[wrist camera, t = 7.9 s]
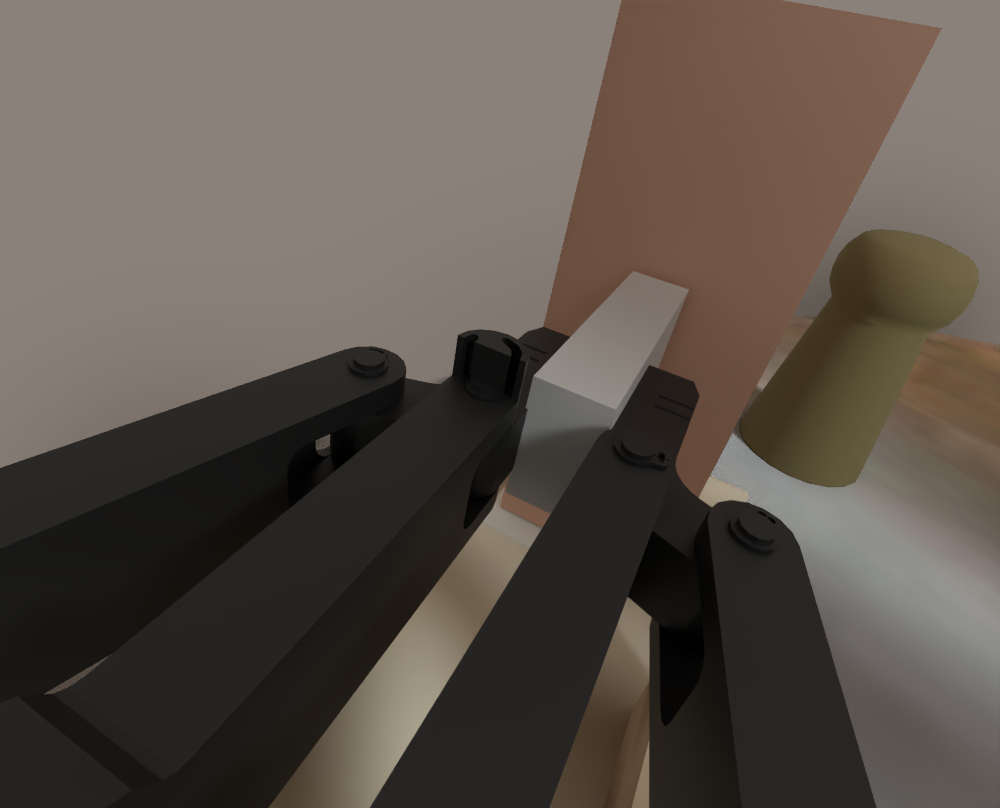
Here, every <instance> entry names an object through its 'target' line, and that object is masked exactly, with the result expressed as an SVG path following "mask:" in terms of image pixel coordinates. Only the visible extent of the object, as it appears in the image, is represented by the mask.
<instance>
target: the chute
mask: <svg viewBox="0 0 1000 808" xmlns="http://www.w3.org/2000/svg"><path fill="white" fill-rule="evenodd" d="M506 480H507V477H506V479H505V480H504V481H503V483H502V484H501V485H500V486H499V490H498V494H497V499H496V502H495V504H494V507H493V509H492V510H491V512H490V513H489V514H488V516H487V517H486V518H485V520H484V521H483V522H482V524H481V525H480V526H479V528H478V529H477V530H476V532H475V533H474V534H473V536H472V537H471V538H470V540H469V541H468V542H467V544H466V545H465V546H464V548H463V549H462V550H461V552H460V553H459V554H458V556H457V557H456V558H455V560H454V561H453V562H452V564H451V565H450V566H449V568H448V569H447V570H446V572H445V573H444V574H443V576H442V577H441V578H440V580H439V581H438V582H437V584H436V585H435V586H434V588H433V589H432V590H431V592H430V593H429V594H428V596H427V597H426V598H425V600H424V601H423V602H422V604H421V605H420V606H419V608H418V609H417V610H416V612H415V613H414V614H413V616H412V617H411V618H410V620H409V621H408V622H407V624H406V625H405V626H404V628H403V629H402V630H401V632H400V633H399V634H398V636H397V637H396V638H395V640H394V641H393V642H392V644H391V645H390V646H389V648H388V649H387V650H386V652H385V653H384V654H383V656H382V657H381V658H380V660H379V661H378V662H377V664H376V665H375V666H374V668H373V669H372V670H371V672H370V673H369V674H368V676H367V677H366V678H365V680H364V681H363V682H362V684H361V685H360V686H359V688H358V689H357V690H356V692H355V693H354V694H353V696H352V697H351V698H350V700H349V701H348V702H347V704H346V705H345V706H344V708H343V709H342V710H341V712H340V713H339V714H338V716H337V717H336V718H335V720H334V721H333V722H332V724H331V725H330V726H329V728H328V729H327V730H326V732H325V733H324V734H323V736H322V737H321V738H320V740H319V741H318V742H317V744H316V745H315V746H314V748H313V749H312V750H311V752H310V753H309V754H308V756H307V757H306V758H305V760H304V761H303V762H302V764H301V765H300V766H299V768H298V769H297V770H296V772H295V773H294V774H293V776H292V777H291V778H290V780H289V781H288V782H287V784H286V785H285V786H284V788H283V789H282V790H281V792H280V793H279V794H278V796H277V797H276V798H275V800H274V801H273V802H272V804H271V805H270V806H269V808H370V806H371V805H372V803H373V801H374V800H375V798H376V797H377V795H378V793H379V792H380V790H381V788H382V787H383V785H384V784H385V782H386V780H387V779H388V777H389V775H390V774H391V772H392V771H393V769H394V767H395V766H396V764H397V763H398V761H399V759H400V758H401V756H402V754H403V753H404V751H405V750H406V748H407V746H408V745H409V743H410V741H411V740H412V738H413V737H414V735H415V733H416V732H417V730H418V728H419V727H420V725H421V724H422V722H423V720H424V719H425V717H426V715H427V714H428V712H429V711H430V709H431V707H432V706H433V704H434V703H435V701H436V699H437V698H438V696H439V694H440V693H441V691H442V690H443V688H444V686H445V685H446V683H447V681H448V680H449V678H450V677H451V675H452V673H453V672H454V670H455V668H456V667H457V665H458V664H459V662H460V660H461V659H462V657H463V655H464V654H465V652H466V651H467V649H468V647H469V646H470V644H471V643H472V641H473V639H474V638H475V636H476V634H477V633H478V631H479V630H480V628H481V626H482V625H483V623H484V621H485V620H486V618H487V617H488V615H489V613H490V612H491V610H492V608H493V607H494V605H495V604H496V602H497V600H498V599H499V597H500V595H501V594H502V592H503V591H504V589H505V587H506V586H507V584H508V583H509V581H510V579H511V578H512V576H513V574H514V573H515V571H516V570H517V568H518V566H519V565H520V563H521V561H522V560H523V558H524V557H525V555H526V553H527V552H528V550H529V548H530V547H531V545H532V544H533V542H534V540H535V539H536V537H537V535H538V534H539V532H540V531H541V529H542V527H540V526H538V525H536V524H534V523H532V522H530V521H528V520H526V519H524V518H522V517H520V516H518V515H516V514H514V513H512V512H510V511H508V510H506V509H504V508H502V507H500V505H501V501H502V497H503V493H504V489H505V484H506ZM748 493H749V492H746V491H744V490H742V489H739V488H737V487H735V486H732V485H730V484H728V483H725V482H723V481H720V480H718V479H716V478H713V477H711V476H710V477H709V478H708V480H707V482H706V484H705V486H704V488H703V490H702V492H701V494H700V496H699V499H701V500H702V501H704V502H705V503H706V504H708V505H709V506H711V507H713V506H714V505H715V504H716V503H718V502H722V501H728V500H735V501H742V502H747V498H748ZM651 618H652V617H651V616H649V615H648V614H647V613H646V612H645V611H644V610H642V609H641V608H640V607H639V606H638V605H637V604H636V603H634V602H633V601H632V600H631V599H630V598H629V597H627V600H626V603H625V605H624V608H623V611H622V613H621V616H620V619H619V622H618V624H617V627H616V630H615V632H614V635H613V638H612V640H611V643H610V646H609V648H608V651H607V654H606V657H605V659H604V662H603V665H602V667H601V670H600V673H599V675H598V678H597V681H596V684H595V686H594V689H593V692H592V694H591V697H590V700H589V702H588V705H587V708H586V711H585V713H584V716H583V719H582V721H581V724H580V727H579V729H578V732H577V735H576V737H575V740H574V743H573V746H572V748H571V751H570V754H569V756H568V759H567V762H566V764H565V767H564V770H563V773H562V775H561V778H560V781H559V783H558V786H557V789H556V791H555V794H554V797H553V799H552V802H551V805H550V808H649V627H650V622H651Z"/></svg>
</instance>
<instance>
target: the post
mask: <svg viewBox="0 0 1000 808" xmlns="http://www.w3.org/2000/svg"><path fill="white" fill-rule="evenodd" d="M941 29H942V28H937V27H931V26H926V25H920V24H914V23H909V22H903V21H897V20H892V19H886V18H880V17H874V16H869V15H863V14H857V13H851V12H846V11H840V10H834V9H829V8H823V7H818V6H812V5H806V4H800V3H795V2H789V1H783V0H622V1H621V5H620V9H619V13H618V17H617V22H616V26H615V31H614V34H613V38H612V43H611V47H610V51H609V55H608V60H607V63H606V68H605V72H604V76H603V80H602V85H601V89H600V93H599V97H598V101H597V105H596V109H595V113H594V118H593V122H592V126H591V130H590V134H589V138H588V143H587V147H586V151H585V155H584V159H583V163H582V168H581V172H580V176H579V181H578V184H577V189H576V193H575V197H574V201H573V205H572V210H571V214H570V218H569V222H568V226H567V231H566V234H565V239H564V243H563V247H562V251H561V255H560V260H559V263H558V268H557V272H556V276H555V280H554V284H553V289H552V293H551V297H550V301H549V305H548V309H547V314H546V318H545V322H544V326H543V327H546V328H548V329H551V330H554V331H556V332H559V333H562V334H564V335H567V336H570V337H571V336H572V335H573V334H574V333H575V332H576V331H577V330H578V329H579V328H580V327H581V325H582V324H583V323H584V322H585V321H586V320H587V319H588V318H589V317H590V316H591V315H592V314H593V313H594V312H595V311H596V310H597V309H598V308H599V307H600V306H601V304H602V303H603V302H604V301H605V300H606V299H607V298H608V297H609V296H610V295H611V294H612V293H613V292H614V291H615V290H616V289H617V288H618V287H619V286H620V285H621V283H622V282H623V281H624V280H625V279H626V278H627V277H628V276H629V275H630V274H631V273H632V272H633V271H635V272H638V273H641V274H644V275H647V276H650V277H653V278H656V279H659V280H662V281H665V282H668V283H671V284H674V285H677V286H680V287H683V288H686V289H689V291H688V294H687V296H686V299H685V301H684V304H683V306H682V309H681V311H680V314H679V317H678V319H677V322H676V324H675V327H674V329H673V332H672V334H671V337H670V340H669V342H668V345H667V347H666V350H665V352H664V355H663V358H662V360H661V363H660V365H659V369H661V370H664V371H667V372H669V373H672V374H675V375H677V376H680V377H683V378H685V379H688V380H691V381H693V382H694V383H695V386H696V388H697V391H698V393H699V396H700V397H699V399H698V402H697V405H696V408H695V410H694V413H693V416H692V418H691V421H690V424H689V426H688V429H687V432H686V434H685V437H684V440H683V442H682V445H681V448H680V451H679V453H678V456H677V459H676V470H677V474H678V476H679V477H680V479H681V481H682V482H683V484H684V485H685V486H686V487H687V488H688V489H689V490H690V491H691V492H692V493H693V494H694V495H696V496H697V497H698V498H699V496H700V494H701V492H702V490H703V488H704V486H705V484H706V482H707V480H708V478H709V477H710V475H711V473H712V471H713V469H714V467H715V465H716V463H717V461H718V459H719V457H720V455H721V453H722V451H723V450H724V448H725V446H726V444H727V442H728V440H729V438H730V436H731V434H732V432H733V430H734V428H735V426H736V424H737V423H738V421H739V419H740V417H741V415H742V413H743V411H744V409H745V407H746V405H747V403H748V401H749V399H750V397H751V396H752V394H753V392H754V390H755V388H756V386H757V384H758V382H759V380H760V378H761V376H762V374H763V372H764V370H765V369H766V367H767V365H768V363H769V361H770V359H771V357H772V355H773V353H774V351H775V349H776V347H777V345H778V343H779V342H780V340H781V338H782V336H783V334H784V332H785V330H786V328H787V326H788V324H789V322H790V320H791V318H792V316H793V315H794V312H795V311H796V309H797V307H798V305H799V303H800V301H801V299H802V297H803V295H804V293H805V291H806V289H807V287H808V286H809V284H810V282H811V280H812V278H813V276H814V274H815V272H816V270H817V268H818V266H819V264H820V262H821V261H822V259H823V256H824V255H825V253H826V251H827V249H828V247H829V245H830V243H831V241H832V239H833V237H834V235H835V233H836V231H837V230H838V228H839V226H840V224H841V222H842V220H843V218H844V216H845V214H846V212H847V210H848V208H849V206H850V205H851V203H852V201H853V199H854V196H855V195H856V193H857V191H858V189H859V187H860V185H861V183H862V181H863V179H864V178H865V176H866V174H867V172H868V170H869V167H870V166H871V164H872V162H873V160H874V158H875V156H876V154H877V152H878V151H879V148H880V147H881V145H882V143H883V141H884V139H885V136H886V135H887V133H888V131H889V129H890V127H891V125H892V123H893V122H894V120H895V118H896V116H897V114H898V112H899V110H900V108H901V106H902V104H903V102H904V100H905V98H906V97H907V94H908V93H909V91H910V89H911V87H912V85H913V83H914V81H915V79H916V77H917V75H918V73H919V71H920V70H921V68H922V65H923V63H924V62H925V60H926V58H927V56H928V54H929V52H930V50H931V48H932V46H933V44H934V43H935V40H936V39H937V37H938V35H939V33H940V31H941ZM509 475H510V474H509ZM509 475H508V476H507V480H506V484H505V489H504V493H503V497H502V501H501V505H500V507H502V508H504V509H506V510H508V511H510V512H512V513H514V514H516V515H518V516H520V517H522V518H524V519H526V520H528V521H530V522H532V523H534V524H536V525H538V526H540V527H543V526H544V524H545V523H546V521H547V519H548V518H549V516H550V513H548V512H546V511H543V510H541V509H539V508H537V507H535V506H533V505H531V504H529V503H527V502H525V501H523V500H521V499H519V498H516V497H514V496H512V495H510V494H508V493H506V492H505V491H506V487H507V483H508V479H509Z"/></svg>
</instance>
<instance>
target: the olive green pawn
mask: <svg viewBox="0 0 1000 808" xmlns="http://www.w3.org/2000/svg"><path fill="white" fill-rule="evenodd" d="M978 275H979V274H978V268H977V266H976V265H975V264H974V262H973V261H972V260H971V259H970V258H969V257H968V256H966V255H964V254H963V253H961V252H959V251H958V250H956V249H954V248H952V247H951V246H949V245H946V244H944V243H942V242H940V241H937V240H935V239H932V238H929V237H926V236H922V235H918V234H914V233H909V232H903V231H895V230H883V229H881V230H871V231H866V232H864V233H862V234H860V235H859V236H857V237H856V238H855V239H853V240H852V241H850V242H849V243H848V244H847V245H846V246H845V247H844V249H843V250H842V251H841V252H840V253H839V255H838V257H837V259H836V261H835V263H834V264H833V267H832V271H831V275H830V280H829V281H830V287H831V293H832V297H831V298H830V299H829V301H828V302H827V304H826V305H825V306H824V307H823V309H822V310H821V312H820V313H819V314H818V316H817V317H816V318H815V320H814V321H813V322H812V324H811V325H810V327H809V328H808V329H807V331H806V332H805V333H804V335H803V336H802V337H801V339H800V340H799V342H798V343H797V344H796V346H795V347H794V348H793V350H792V351H791V352H790V354H789V355H788V357H787V358H786V359H785V361H784V362H783V363H782V365H781V366H780V367H779V369H778V370H777V372H776V373H775V374H774V376H773V377H772V378H771V380H770V381H769V382H768V384H767V385H766V387H765V388H764V389H763V391H762V392H761V393H760V395H759V396H758V397H757V399H756V400H755V402H754V403H753V404H752V406H751V407H750V408H749V410H748V411H747V412H746V414H745V415H744V417H743V418H742V419H741V422H740V432H741V434H742V437H743V439H744V441H745V442H746V443H747V444H748V446H749V447H750V448H751V449H752V450H753V452H754V453H756V454H757V455H758V456H759V457H761V458H762V459H763V460H764V461H766V462H767V463H768V464H769V465H771V466H773V467H775V468H777V469H778V470H780V471H782V472H784V473H785V474H787V475H789V476H792V477H794V478H797V479H800V480H802V481H805V482H807V483H811V484H816V485H821V486H826V487H845V486H847V485H849V484H852V483H854V482H855V481H856V480H857V478H858V476H859V475H860V473H861V471H862V469H863V467H864V464H865V462H866V460H867V458H868V456H869V454H870V452H871V450H872V448H873V446H874V444H875V442H876V440H877V438H878V436H879V434H880V432H881V430H882V428H883V426H884V424H885V422H886V420H887V418H888V416H889V414H890V412H891V410H892V408H893V406H894V404H895V402H896V400H897V398H898V396H899V394H900V392H901V390H902V388H903V386H904V384H905V382H906V380H907V378H908V376H909V374H910V372H911V370H912V368H913V365H914V363H915V361H916V359H917V357H918V355H919V353H920V351H921V349H922V347H923V345H924V343H925V341H926V339H927V337H928V335H929V334H930V333H932V332H934V331H936V330H939V329H941V328H943V327H946V326H948V325H949V324H950V323H952V322H953V321H954V320H955V319H956V318H957V317H959V316H960V315H961V314H962V312H963V311H964V310H965V309H966V307H967V306H968V305H969V303H970V302H971V300H972V298H973V296H974V294H975V291H976V288H977V286H978V283H979V276H978Z"/></svg>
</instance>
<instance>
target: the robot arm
mask: <svg viewBox="0 0 1000 808" xmlns="http://www.w3.org/2000/svg"><path fill="white" fill-rule="evenodd" d="M688 291H689V289H686V288H683V287H680V286H677V285H674V284H671V283H668V282H665V281H662V280H659V279H656V278H653V277H650V276H647V275H644V274H641V273H638V272H635V271H633V272H632V273H631V274H630V275H629V276H628V277H627V278H626V279H625V280H624V281H623V282H622V283H621V285H620V286H619V287H618V288H617V289H616V290H615V291H614V292H613V293H612V294H611V295H610V296H609V297H608V298H607V299H606V300H605V301H604V302H603V303H602V304H601V306H600V307H599V308H598V309H597V310H596V311H595V312H594V313H593V314H592V315H591V316H590V317H589V318H588V319H587V320H586V321H585V322H584V323H583V324H582V325H581V327H580V328H579V329H578V330H577V331H576V332H575V333H574V334H573V335H572V336H571V337H570V336H567V335H564V334H562V333H559V332H556V331H554V330H551V329H548V328H546V327H542V328H539V329H535V330H531V331H528V332H526V333H525V334H524V335H523V336H522V337H520V338H519V339H518V340H517V339H515V338H514V337H512V336H510V335H507V334H504V333H500V332H497V331H491V330H473V331H467V332H464V333H462V334H460V335H458V339H457V346H456V354H455V360H454V367H453V374H452V376H451V377H449V378H448V379H447V380H446V381H444V382H443V383H442V384H441V385H440V384H432V383H427V382H422V381H417V380H412V379H407V378H405V375H406V367H405V364H404V361H403V360H402V359H401V358H400V357H399V356H398V355H396V354H394V353H392V352H390V351H388V350H385V349H381V348H377V347H372V346H371V347H355V348H350V349H345V350H343V351H339V352H336V353H334V354H331V355H328V356H325V357H322V358H319V359H316V360H313V361H311V362H307V363H304V364H302V365H299V366H296V367H293V368H290V369H287V370H284V371H281V372H278V373H275V374H272V375H270V376H267V377H264V378H261V379H258V380H255V381H252V382H249V383H246V384H244V385H240V386H238V387H235V388H232V389H229V390H226V391H223V392H220V393H217V394H214V395H211V396H209V397H206V398H203V399H200V400H197V401H194V402H191V403H188V404H185V405H182V406H179V407H177V408H174V409H171V410H168V411H165V412H162V413H159V414H156V415H153V416H151V417H147V418H145V419H142V420H139V421H136V422H133V423H130V424H127V425H124V426H121V427H119V428H115V429H113V430H110V431H107V432H104V433H101V434H98V435H95V436H92V437H89V438H86V439H83V440H81V441H78V442H75V443H72V444H69V445H66V446H63V447H60V448H57V449H54V450H51V451H49V452H46V453H43V454H40V455H37V456H34V457H31V458H28V459H25V460H23V461H19V462H17V463H14V464H11V465H8V466H5V467H2V468H0V808H269V806H270V805H271V804H272V802H273V801H274V800H275V798H276V797H277V796H278V794H279V793H280V792H281V790H282V789H283V788H284V786H285V785H286V784H287V782H288V781H289V780H290V778H291V777H292V776H293V774H294V773H295V772H296V770H297V769H298V768H299V766H300V765H301V764H302V762H303V761H304V760H305V758H306V757H307V756H308V754H309V753H310V752H311V750H312V749H313V748H314V746H315V745H316V744H317V742H318V741H319V740H320V738H321V737H322V736H323V734H324V733H325V732H326V730H327V729H328V728H329V726H330V725H331V724H332V722H333V721H334V720H335V718H336V717H337V716H338V714H339V713H340V712H341V710H342V709H343V708H344V706H345V705H346V704H347V702H348V701H349V700H350V698H351V697H352V696H353V694H354V693H355V692H356V690H357V689H358V688H359V686H360V685H361V684H362V682H363V681H364V680H365V678H366V677H367V676H368V674H369V673H370V672H371V670H372V669H373V668H374V666H375V665H376V664H377V662H378V661H379V660H380V658H381V657H382V656H383V654H384V653H385V652H386V650H387V649H388V648H389V646H390V645H391V644H392V642H393V641H394V640H395V638H396V637H397V636H398V634H399V633H400V632H401V630H402V629H403V628H404V626H405V625H406V624H407V622H408V621H409V620H410V618H411V617H412V616H413V614H414V613H415V612H416V610H417V609H418V608H419V606H420V605H421V604H422V602H423V601H424V600H425V598H426V597H427V596H428V594H429V593H430V592H431V590H432V589H433V588H434V586H435V585H436V584H437V582H438V581H439V580H440V578H441V577H442V576H443V574H444V573H445V572H446V570H447V569H448V568H449V566H450V565H451V564H452V562H453V561H454V560H455V558H456V557H457V556H458V554H459V553H460V552H461V550H462V549H463V548H464V546H465V545H466V544H467V542H468V541H469V540H470V538H471V537H472V536H473V534H474V533H475V532H476V530H477V529H478V528H479V526H480V525H481V524H482V522H483V521H484V520H485V518H486V517H487V516H488V514H489V513H490V512H491V510H492V509H493V507H494V504H495V502H496V499H497V494H498V490H499V486H500V485H501V484H502V483H503V481H504V480H505V479H506V477H507V476H508V475H509V474H510V475H509V479H508V483H507V487H506V491H505V492H506V493H508V494H510V495H512V496H514V497H516V498H519V499H521V500H523V501H525V502H527V503H529V504H531V505H533V506H535V507H537V508H539V509H541V510H543V511H546V512H548V513H550V516H549V518H548V519H547V521H546V523H545V524H544V526H543V527H542V529H541V531H540V532H539V534H538V535H537V537H536V539H535V540H534V542H533V544H532V545H531V547H530V548H529V550H528V552H527V553H526V555H525V557H524V558H523V560H522V561H521V563H520V565H519V566H518V568H517V570H516V571H515V573H514V574H513V576H512V578H511V579H510V581H509V583H508V584H507V586H506V587H505V589H504V591H503V592H502V594H501V595H500V597H499V599H498V600H497V602H496V604H495V605H494V607H493V608H492V610H491V612H490V613H489V615H488V617H487V618H486V620H485V621H484V623H483V625H482V626H481V628H480V630H479V631H478V633H477V634H476V636H475V638H474V639H473V641H472V643H471V644H470V646H469V647H468V649H467V651H466V652H465V654H464V655H463V657H462V659H461V660H460V662H459V664H458V665H457V667H456V668H455V670H454V672H453V673H452V675H451V677H450V678H449V680H448V681H447V683H446V685H445V686H444V688H443V690H442V691H441V693H440V694H439V696H438V698H437V699H436V701H435V703H434V704H433V706H432V707H431V709H430V711H429V712H428V714H427V715H426V717H425V719H424V720H423V722H422V724H421V725H420V727H419V728H418V730H417V732H416V733H415V735H414V737H413V738H412V740H411V741H410V743H409V745H408V746H407V748H406V750H405V751H404V753H403V754H402V756H401V758H400V759H399V761H398V763H397V764H396V766H395V767H394V769H393V771H392V772H391V774H390V775H389V777H388V779H387V780H386V782H385V784H384V785H383V787H382V788H381V790H380V792H379V793H378V795H377V797H376V798H375V800H374V801H373V803H372V805H371V806H370V808H550V805H551V802H552V799H553V797H554V794H555V791H556V789H557V786H558V783H559V781H560V778H561V775H562V773H563V770H564V767H565V764H566V762H567V759H568V756H569V754H570V751H571V748H572V746H573V743H574V740H575V737H576V735H577V732H578V729H579V727H580V724H581V721H582V719H583V716H584V713H585V711H586V708H587V705H588V702H589V700H590V697H591V694H592V692H593V689H594V686H595V684H596V681H597V678H598V675H599V673H600V670H601V667H602V665H603V662H604V659H605V657H606V654H607V651H608V648H609V646H610V643H611V640H612V638H613V635H614V632H615V630H616V627H617V624H618V622H619V619H620V616H621V613H622V611H623V608H624V605H625V603H626V600H627V597H629V598H630V599H631V600H632V601H633V602H634V603H636V604H637V605H638V606H639V607H640V608H641V609H642V610H644V611H645V612H646V613H647V614H648V615H649V616H651V617H652V618H651V622H650V627H649V808H876V805H875V802H874V798H873V795H872V791H871V788H870V785H869V781H868V778H867V774H866V771H865V768H864V764H863V761H862V757H861V754H860V751H859V747H858V744H857V740H856V737H855V733H854V730H853V727H852V723H851V720H850V716H849V713H848V710H847V706H846V703H845V699H844V696H843V693H842V689H841V686H840V682H839V679H838V676H837V672H836V669H835V665H834V662H833V659H832V655H831V652H830V648H829V645H828V642H827V638H826V635H825V631H824V628H823V625H822V621H821V618H820V614H819V611H818V608H817V604H816V601H815V597H814V594H813V590H812V587H811V584H810V580H809V577H808V573H807V570H806V567H805V563H804V560H803V556H802V553H801V550H800V546H799V544H798V542H797V541H796V539H795V537H794V535H793V533H792V532H791V531H790V530H789V529H788V528H787V527H786V526H785V525H784V523H783V522H782V521H781V520H780V519H778V518H777V517H775V516H774V515H772V514H771V513H769V512H767V511H766V510H764V509H762V508H760V507H757V506H755V505H752V504H750V503H747V502H742V501H735V500H728V501H722V502H718V503H716V504H715V505H714V506H713V507H711V506H709V505H708V504H706V503H705V502H704V501H702V500H701V499H699V498H698V497H697V496H696V495H694V494H693V493H692V492H691V491H690V490H689V489H688V488H687V487H686V486H685V485H684V484H683V482H682V481H681V479H680V477H679V476H678V474H677V470H676V459H677V456H678V453H679V451H680V448H681V445H682V442H683V440H684V437H685V434H686V432H687V429H688V426H689V424H690V421H691V418H692V416H693V413H694V410H695V408H696V405H697V402H698V399H699V397H700V396H699V393H698V391H697V388H696V386H695V383H694V382H693V381H691V380H688V379H685V378H683V377H680V376H677V375H675V374H672V373H669V372H667V371H664V370H661V369H659V365H660V363H661V360H662V358H663V355H664V352H665V350H666V347H667V345H668V342H669V340H670V337H671V334H672V332H673V329H674V327H675V324H676V322H677V319H678V317H679V314H680V311H681V309H682V306H683V304H684V301H685V299H686V296H687V294H688ZM329 434H330V446H329V447H327V448H325V449H322V450H318V451H316V444H315V441H316V440H318V439H320V438H322V437H324V436H326V435H329ZM112 653H113V654H112ZM110 654H112V655H110ZM109 655H110V656H109ZM107 656H109V657H108V658H107V659H105V660H104V661H103V662H102V663H101V664H99V665H98V666H97V667H96V668H95V669H93V670H92V671H91V672H90V673H88V674H87V675H86V676H85V677H83V678H82V679H80V680H79V681H77V682H76V683H74V684H73V685H72V686H70V687H68V688H66V689H64V690H61V691H59V692H56V693H54V694H44V693H46V692H48V691H49V690H51V689H53V688H55V687H56V686H58V685H60V684H61V683H63V682H65V681H66V680H68V679H70V678H71V677H73V676H75V675H77V674H78V673H80V672H82V671H83V670H85V669H87V668H88V667H90V666H92V665H93V664H95V663H97V662H99V661H100V660H102V659H104V658H105V657H107ZM43 694H44V695H43Z"/></svg>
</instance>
